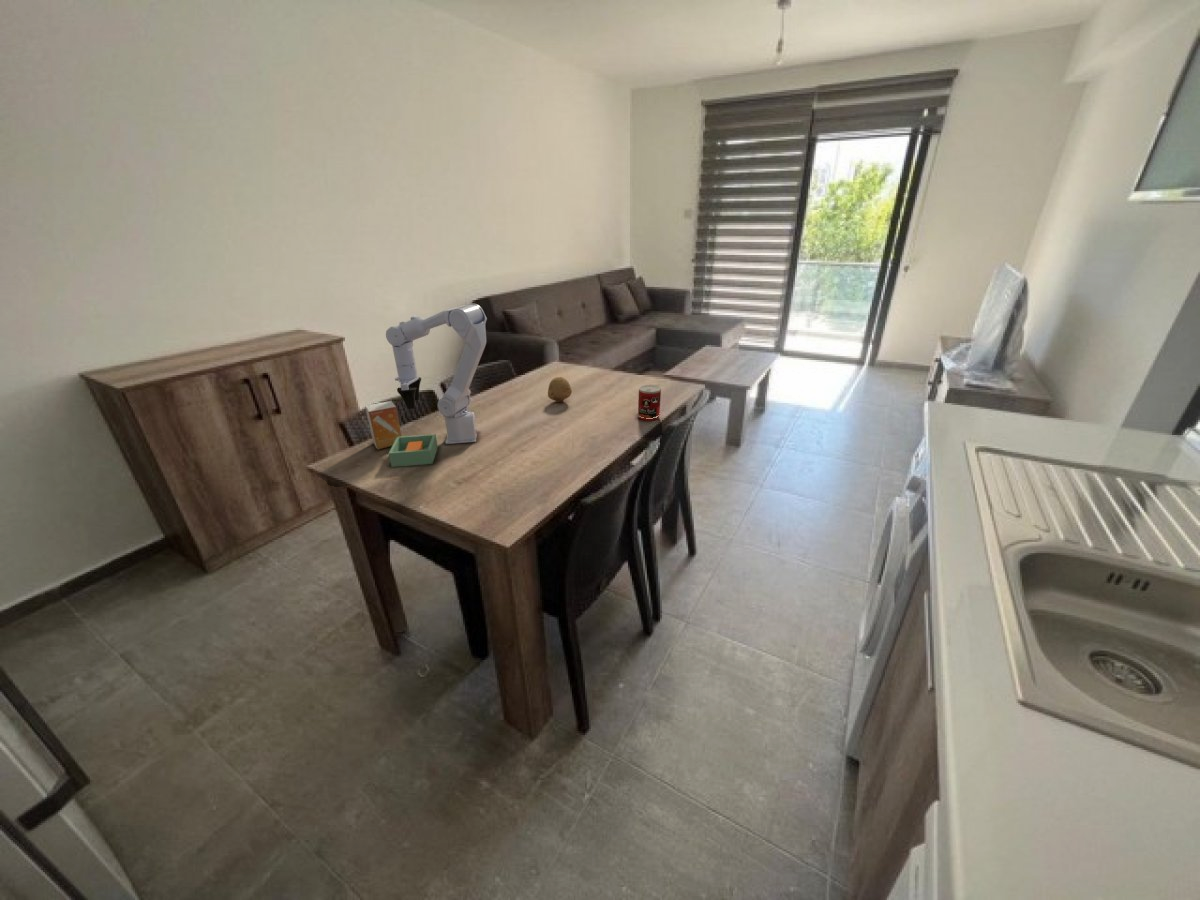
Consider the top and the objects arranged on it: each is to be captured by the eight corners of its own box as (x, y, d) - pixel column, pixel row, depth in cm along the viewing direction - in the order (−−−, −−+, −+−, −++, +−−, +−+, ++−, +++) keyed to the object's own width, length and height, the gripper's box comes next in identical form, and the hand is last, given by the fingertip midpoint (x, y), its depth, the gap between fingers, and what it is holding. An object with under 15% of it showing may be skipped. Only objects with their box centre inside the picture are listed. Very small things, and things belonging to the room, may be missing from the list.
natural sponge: (576, 400, 188) (576, 376, 184) (563, 407, 182) (562, 382, 177) (558, 396, 193) (557, 372, 188) (544, 403, 186) (543, 378, 182)
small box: (377, 450, 150) (368, 411, 144) (373, 443, 154) (364, 405, 149) (404, 444, 154) (396, 406, 148) (399, 437, 158) (391, 400, 153)
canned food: (635, 419, 171) (636, 390, 166) (641, 411, 178) (642, 383, 173) (655, 422, 168) (657, 393, 164) (661, 414, 175) (663, 386, 170)
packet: (424, 449, 149) (422, 440, 148) (420, 459, 143) (418, 450, 141) (410, 450, 148) (408, 441, 147) (406, 460, 142) (404, 451, 141)
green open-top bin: (437, 446, 152) (435, 434, 150) (432, 463, 142) (430, 450, 140) (399, 449, 150) (396, 436, 148) (391, 467, 140) (388, 453, 138)
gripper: (397, 358, 157) (404, 397, 163) (387, 371, 144) (395, 413, 150) (419, 357, 158) (426, 396, 164) (411, 369, 145) (419, 411, 151)
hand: (413, 404), depth 157 cm, fingers open, 7 cm apart
